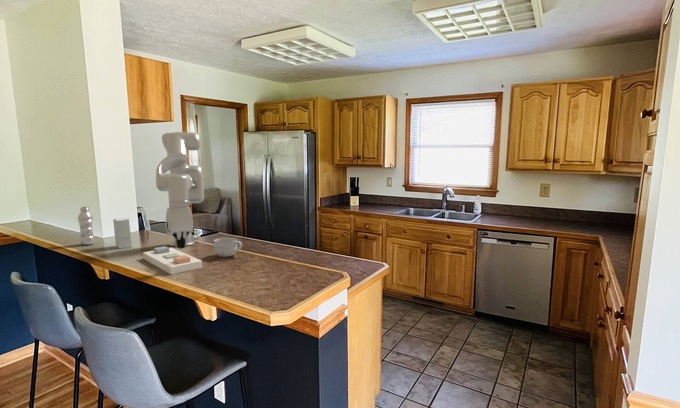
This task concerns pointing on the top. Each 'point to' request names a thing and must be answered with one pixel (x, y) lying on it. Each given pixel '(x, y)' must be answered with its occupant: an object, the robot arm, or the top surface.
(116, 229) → the skincare box
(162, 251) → the slate button
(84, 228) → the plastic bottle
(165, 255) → the sage button
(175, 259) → the terracotta button
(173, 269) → the button panel
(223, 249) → the teacup
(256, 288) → the top surface
